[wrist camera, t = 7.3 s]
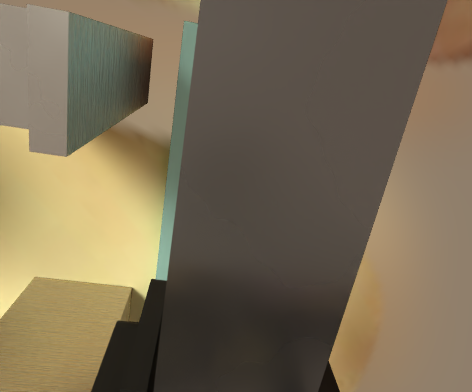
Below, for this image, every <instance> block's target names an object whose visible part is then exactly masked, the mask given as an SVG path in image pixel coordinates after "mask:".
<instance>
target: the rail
mask: <svg viewBox="0 0 472 392" xmlns="http://www.w3.org/2000/svg"><path fill="white" fill-rule="evenodd" d="M446 3H447V0H201V2H200V11H199V19H198V27H197V35H196V44H195V52H194V60H193V68H192V77H191V85H190V93H189V101H188V110H187V118H186V126H185V134H184V143H183V151H182V159H181V168H180V176H179V184H178V192H177V201H176V209H175V217H174V225H173V234H172V242H171V250H170V258H169V267H168V275H167V283H166V291H165V300H164V308H163V316H162V324H161V333H160V341H159V349H158V358H157V366H156V374H155V382H154V391H153V392H318V390H319V387H320V384H321V381H322V378H323V375H324V372H325V369H326V366H327V363H328V360H329V357H330V354H331V351H332V348H333V345H334V342H335V339H336V336H337V333H338V330H339V327H340V324H341V321H342V318H343V315H344V312H345V309H346V305H347V302H348V299H349V296H350V293H351V290H352V287H353V284H354V281H355V278H356V275H357V272H358V269H359V266H360V263H361V260H362V257H363V254H364V251H365V248H366V245H367V242H368V239H369V236H370V233H371V230H372V227H373V224H374V221H375V218H376V215H377V212H378V209H379V206H380V203H381V200H382V197H383V194H384V191H385V187H386V185H387V182H388V178H389V176H390V173H391V169H392V166H393V163H394V160H395V157H396V154H397V151H398V148H399V145H400V142H401V139H402V136H403V133H404V130H405V127H406V124H407V121H408V118H409V115H410V112H411V109H412V106H413V103H414V100H415V97H416V94H417V91H418V88H419V85H420V82H421V79H422V76H423V73H424V70H425V67H426V64H427V61H428V58H429V55H430V52H431V49H432V46H433V43H434V40H435V37H436V34H437V31H438V27H439V24H440V21H441V18H442V15H443V12H444V9H445V6H446Z"/></svg>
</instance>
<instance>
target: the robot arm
mask: <svg viewBox="0 0 472 392" xmlns="http://www.w3.org/2000/svg"><path fill="white" fill-rule="evenodd" d="M166 283H167V281H166V280H157V279H151V282H150V285H149V289H148V292H147V296H146V300H145V303H144V307H143V310H142V314H141V317H140V321H139V322H129V321H119V320H118V321H117V322H116V325H115V327H114V330H113V332H112V335H111V338H110V341H109V343H108V346H107V349H106V352H105V354H104V357H103V360H102V363H101V365H100V368H99V371H98V373H97V376H96V379H95V382H94V384H93V387H92V390H91V392H153V391H154V382H155V374H156V366H157V358H158V349H159V341H160V333H161V324H162V316H163V308H164V300H165V291H166ZM318 392H340V391H339V388H338V385H337V383H336V380H335V377H334V375H333V372H332V369H331V366H330V364H329V361H328V363H327V366H326V369H325V372H324V375H323V378H322V381H321V384H320V387H319V390H318Z"/></svg>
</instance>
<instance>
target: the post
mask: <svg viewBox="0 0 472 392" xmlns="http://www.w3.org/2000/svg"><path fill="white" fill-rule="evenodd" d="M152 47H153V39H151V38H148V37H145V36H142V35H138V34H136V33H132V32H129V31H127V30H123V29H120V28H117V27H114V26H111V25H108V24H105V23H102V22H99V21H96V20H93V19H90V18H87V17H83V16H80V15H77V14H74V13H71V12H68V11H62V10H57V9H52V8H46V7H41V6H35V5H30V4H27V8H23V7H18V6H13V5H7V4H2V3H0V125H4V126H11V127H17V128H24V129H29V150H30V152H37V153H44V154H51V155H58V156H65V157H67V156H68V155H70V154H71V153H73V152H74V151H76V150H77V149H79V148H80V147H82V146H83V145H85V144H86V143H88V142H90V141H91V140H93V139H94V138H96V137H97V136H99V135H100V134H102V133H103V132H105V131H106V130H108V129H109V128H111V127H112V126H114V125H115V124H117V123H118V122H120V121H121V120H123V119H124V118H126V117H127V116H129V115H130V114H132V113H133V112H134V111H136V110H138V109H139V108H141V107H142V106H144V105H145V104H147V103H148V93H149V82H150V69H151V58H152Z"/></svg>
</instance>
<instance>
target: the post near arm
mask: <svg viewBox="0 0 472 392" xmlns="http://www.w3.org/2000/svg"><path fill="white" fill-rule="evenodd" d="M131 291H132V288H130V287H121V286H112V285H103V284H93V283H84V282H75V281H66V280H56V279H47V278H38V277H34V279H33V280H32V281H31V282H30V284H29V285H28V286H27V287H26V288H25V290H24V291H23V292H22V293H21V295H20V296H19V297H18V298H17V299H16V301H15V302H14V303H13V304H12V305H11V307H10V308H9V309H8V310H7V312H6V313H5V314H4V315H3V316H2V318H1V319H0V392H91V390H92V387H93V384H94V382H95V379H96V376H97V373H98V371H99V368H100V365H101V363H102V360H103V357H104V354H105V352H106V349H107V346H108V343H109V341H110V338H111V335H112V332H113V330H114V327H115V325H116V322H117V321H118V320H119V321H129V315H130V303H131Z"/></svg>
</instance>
